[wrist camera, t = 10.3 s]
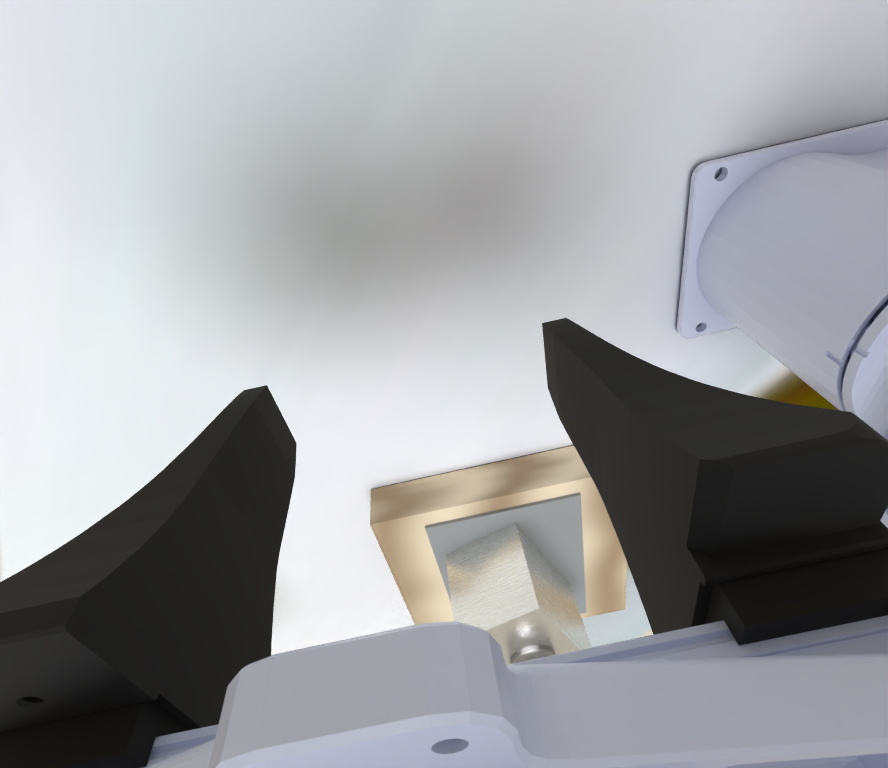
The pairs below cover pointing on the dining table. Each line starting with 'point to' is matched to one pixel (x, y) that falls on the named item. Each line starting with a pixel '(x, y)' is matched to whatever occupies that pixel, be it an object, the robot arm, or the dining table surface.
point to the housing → (514, 596)
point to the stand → (491, 508)
